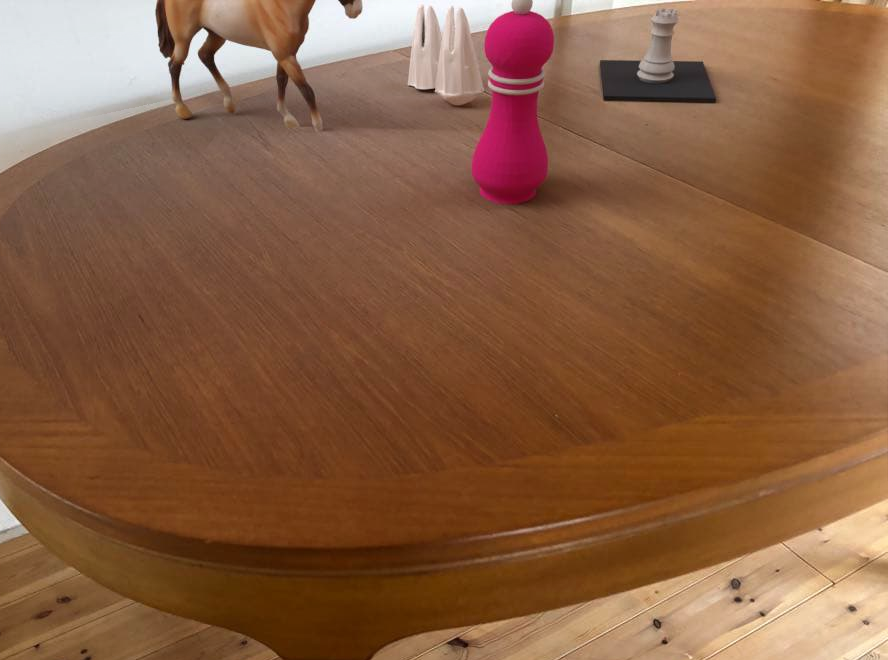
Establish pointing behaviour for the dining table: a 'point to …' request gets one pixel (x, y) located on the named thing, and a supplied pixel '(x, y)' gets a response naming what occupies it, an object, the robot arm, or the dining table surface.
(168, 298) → the dining table surface
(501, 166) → the pepper mill
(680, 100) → the placemat
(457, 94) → the shaker set
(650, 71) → the rook chess piece
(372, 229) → the dining table surface
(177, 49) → the horse figurine
